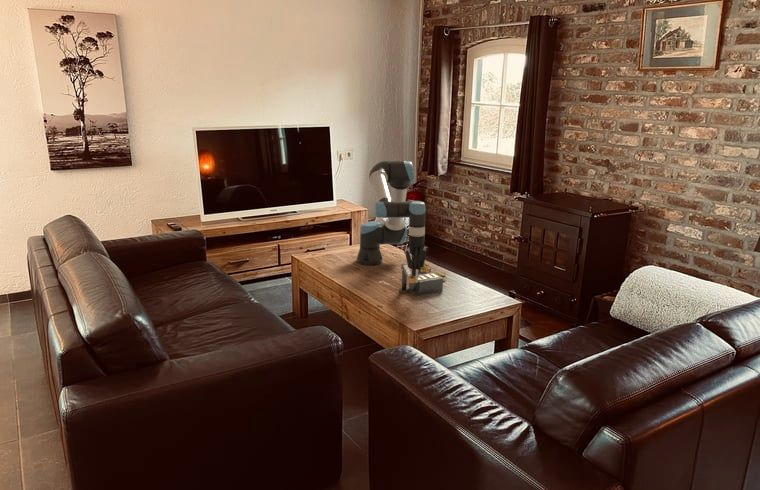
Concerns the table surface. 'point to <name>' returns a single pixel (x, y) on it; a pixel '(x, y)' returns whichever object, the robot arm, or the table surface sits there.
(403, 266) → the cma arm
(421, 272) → the figurine
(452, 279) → the table surface
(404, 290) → the post
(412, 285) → the block
